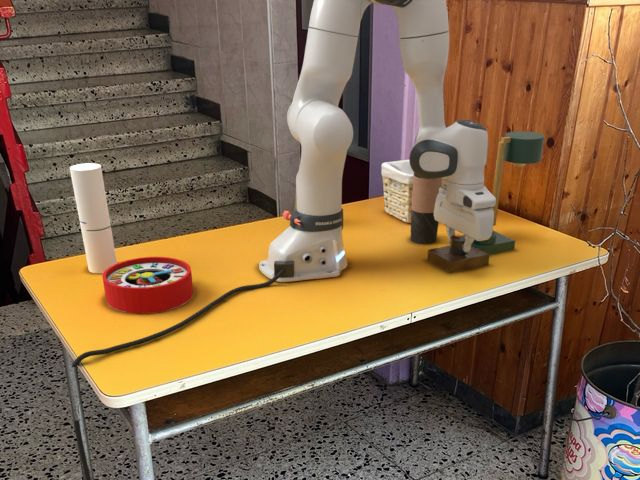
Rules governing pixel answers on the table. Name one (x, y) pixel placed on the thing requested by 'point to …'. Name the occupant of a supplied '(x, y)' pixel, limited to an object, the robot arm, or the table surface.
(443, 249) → the dimmer
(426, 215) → the travel mug
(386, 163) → the basket
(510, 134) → the desk lamp
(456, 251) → the dimmer knob
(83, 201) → the cylindrical container
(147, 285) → the toy clock
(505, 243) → the lamp base
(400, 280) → the table surface
